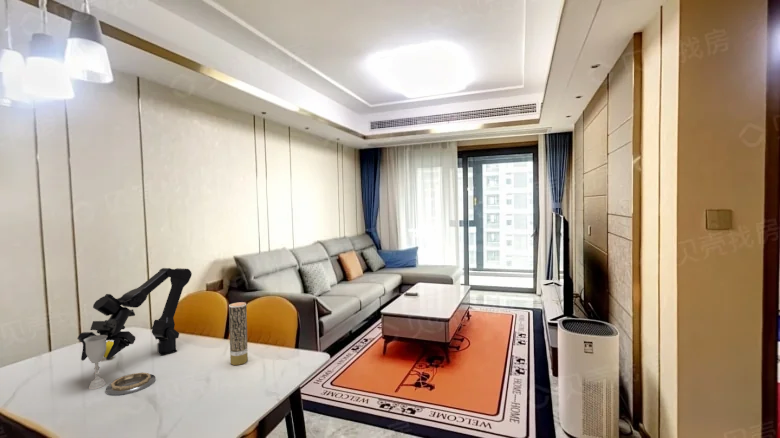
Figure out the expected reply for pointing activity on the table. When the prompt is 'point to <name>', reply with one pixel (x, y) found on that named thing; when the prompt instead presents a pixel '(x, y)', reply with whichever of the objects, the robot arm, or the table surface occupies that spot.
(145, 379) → the collar
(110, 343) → the lemon
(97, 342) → the chalice
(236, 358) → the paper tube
